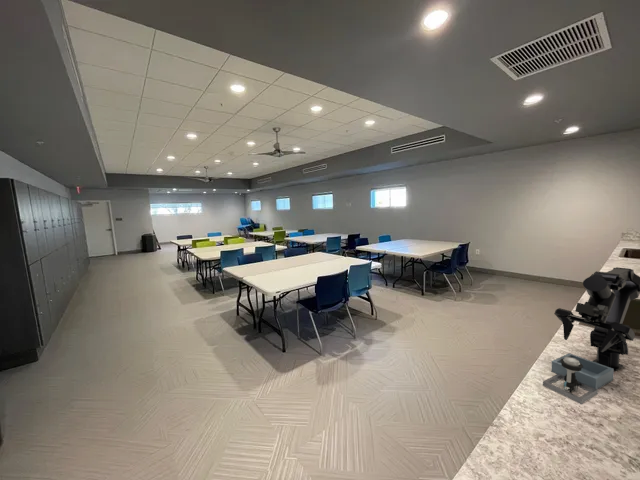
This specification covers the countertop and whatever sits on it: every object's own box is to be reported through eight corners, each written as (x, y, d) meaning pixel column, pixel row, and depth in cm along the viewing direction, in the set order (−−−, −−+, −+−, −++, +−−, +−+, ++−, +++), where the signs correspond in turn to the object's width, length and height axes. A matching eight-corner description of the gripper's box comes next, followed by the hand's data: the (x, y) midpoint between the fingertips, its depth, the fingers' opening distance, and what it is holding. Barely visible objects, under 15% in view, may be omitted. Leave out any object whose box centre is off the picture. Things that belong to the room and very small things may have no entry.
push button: (576, 398, 84) (577, 367, 83) (554, 388, 88) (555, 359, 87) (584, 390, 87) (585, 361, 86) (563, 381, 91) (564, 353, 91)
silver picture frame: (559, 377, 94) (559, 373, 94) (597, 393, 85) (597, 389, 85) (542, 385, 90) (542, 381, 90) (581, 404, 81) (581, 399, 81)
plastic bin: (568, 363, 102) (569, 353, 102) (613, 380, 91) (613, 368, 91) (551, 371, 97) (551, 361, 97) (595, 390, 87) (596, 378, 86)
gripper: (556, 286, 98) (539, 324, 95) (631, 301, 81) (613, 347, 78) (568, 301, 102) (552, 337, 99) (642, 318, 85) (625, 362, 82)
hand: (582, 345), depth 89 cm, fingers open, 9 cm apart
